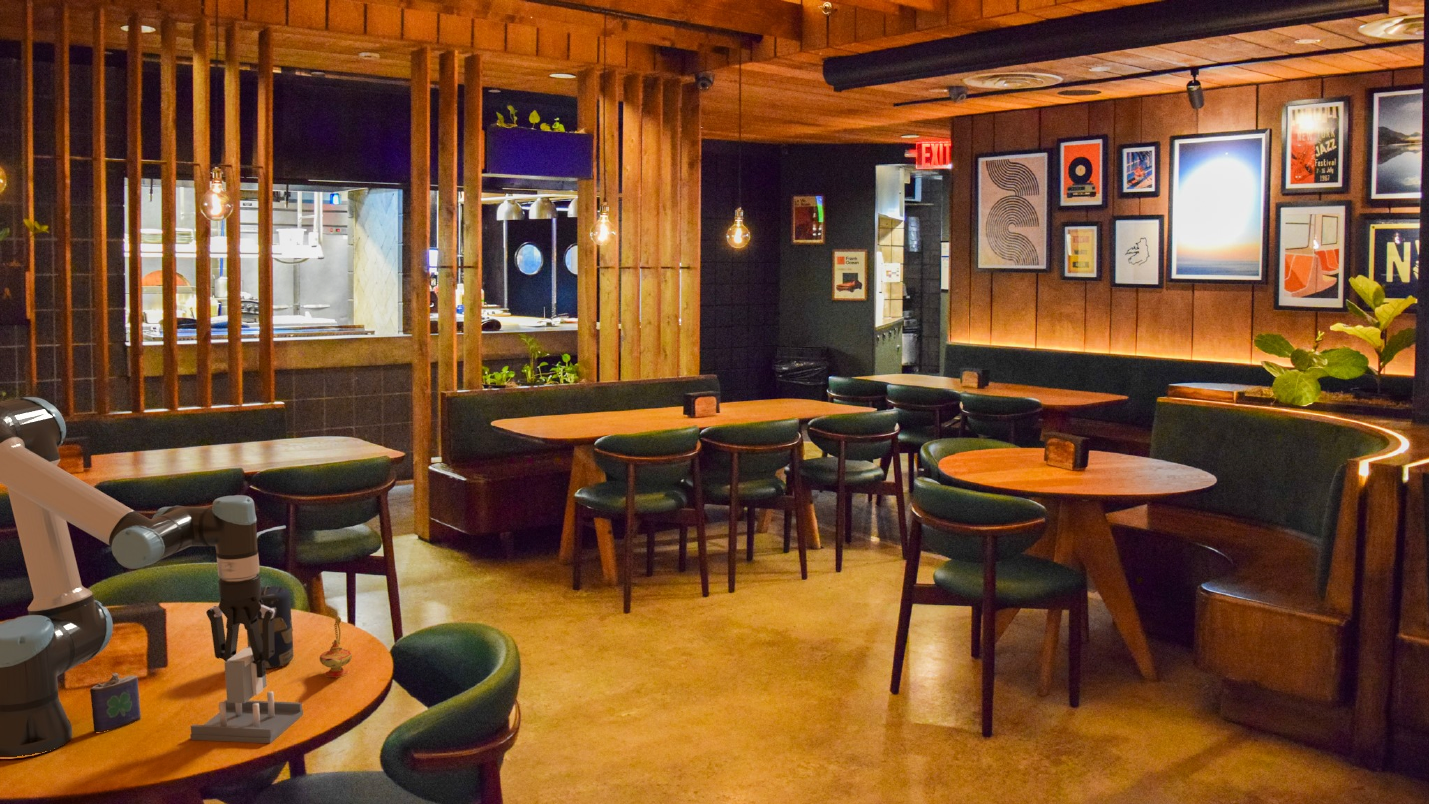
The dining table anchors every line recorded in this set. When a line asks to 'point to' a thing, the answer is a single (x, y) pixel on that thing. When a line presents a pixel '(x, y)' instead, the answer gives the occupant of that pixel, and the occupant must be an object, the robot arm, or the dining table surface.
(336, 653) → the magic lamp
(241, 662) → the block
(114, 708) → the flask
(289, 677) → the dining table surface
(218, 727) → the grey pegged base
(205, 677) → the dining table surface
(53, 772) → the dining table surface
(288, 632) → the canister
